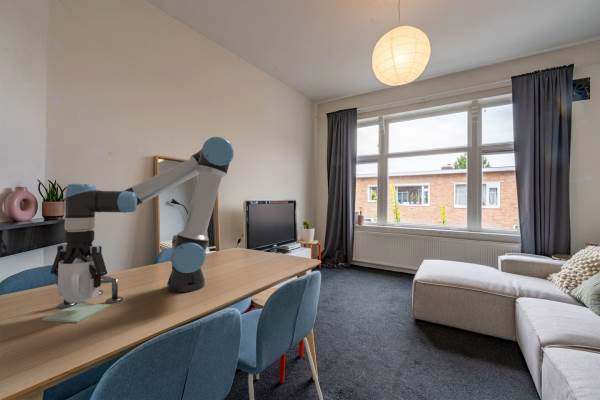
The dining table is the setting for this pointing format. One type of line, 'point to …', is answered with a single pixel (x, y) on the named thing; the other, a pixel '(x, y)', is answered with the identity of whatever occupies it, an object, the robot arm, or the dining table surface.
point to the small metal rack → (114, 298)
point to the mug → (74, 280)
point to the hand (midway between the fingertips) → (78, 296)
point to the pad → (76, 313)
